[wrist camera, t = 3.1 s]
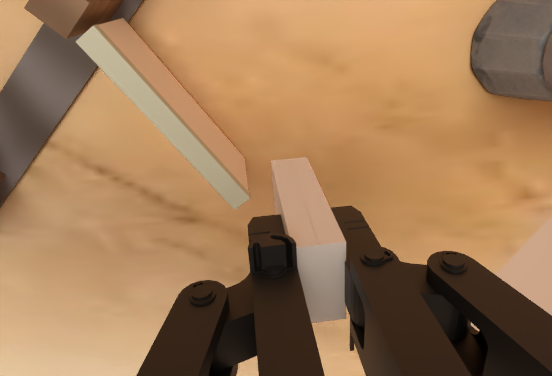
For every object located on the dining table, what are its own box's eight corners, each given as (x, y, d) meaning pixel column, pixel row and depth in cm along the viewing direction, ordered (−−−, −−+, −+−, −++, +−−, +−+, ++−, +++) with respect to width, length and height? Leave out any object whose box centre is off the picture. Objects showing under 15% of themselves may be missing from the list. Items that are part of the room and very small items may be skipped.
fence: (142, -130, 28) (107, -180, 19) (196, -78, 29) (185, -103, 21) (-101, 256, 37) (-191, 330, 29) (-51, 280, 39) (-123, 356, 31)
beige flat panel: (109, 29, 30) (75, 41, 23) (124, 16, 30) (93, 25, 23) (232, 167, 36) (234, 210, 29) (245, 157, 36) (250, 198, 29)
